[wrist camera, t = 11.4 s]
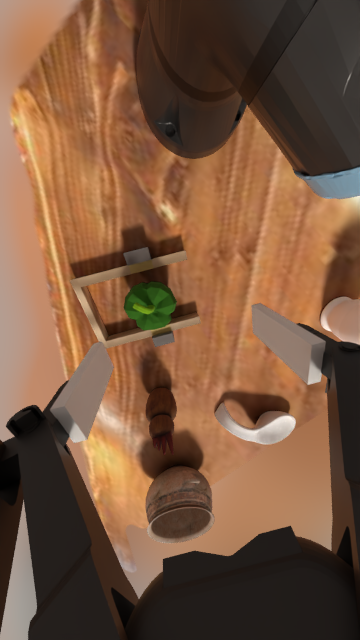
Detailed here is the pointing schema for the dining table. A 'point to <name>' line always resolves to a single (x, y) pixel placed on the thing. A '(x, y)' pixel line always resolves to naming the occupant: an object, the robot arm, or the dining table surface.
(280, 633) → the robot arm
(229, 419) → the spoon rest
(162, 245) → the dining table surface
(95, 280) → the tan wooden u-shaped frame
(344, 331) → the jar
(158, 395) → the wooden figurine
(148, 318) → the bell pepper
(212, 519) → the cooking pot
